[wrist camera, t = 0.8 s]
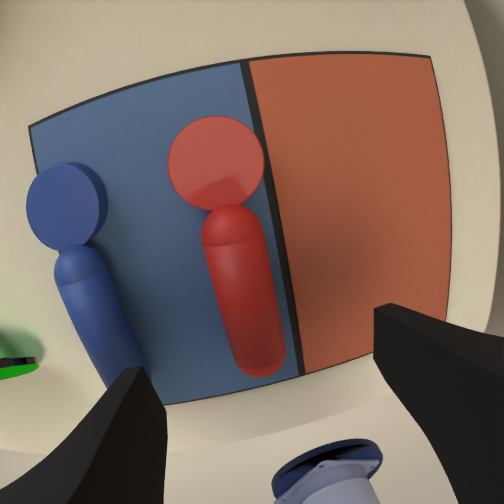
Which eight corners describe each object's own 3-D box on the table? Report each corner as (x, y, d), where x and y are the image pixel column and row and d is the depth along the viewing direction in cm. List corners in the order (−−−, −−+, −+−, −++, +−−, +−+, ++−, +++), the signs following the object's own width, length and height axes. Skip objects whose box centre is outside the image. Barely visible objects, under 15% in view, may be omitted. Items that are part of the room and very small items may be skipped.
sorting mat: (442, 319, 17) (446, 323, 17) (133, 405, 16) (132, 411, 16) (426, 57, 12) (431, 55, 12) (31, 126, 11) (26, 125, 10)
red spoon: (162, 130, 12) (152, 125, 9) (250, 111, 12) (259, 102, 10) (225, 365, 15) (229, 396, 13) (294, 347, 16) (307, 376, 13)
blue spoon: (30, 177, 11) (1, 183, 9) (97, 151, 11) (75, 151, 9) (111, 384, 15) (102, 414, 13) (171, 375, 15) (168, 407, 13)
